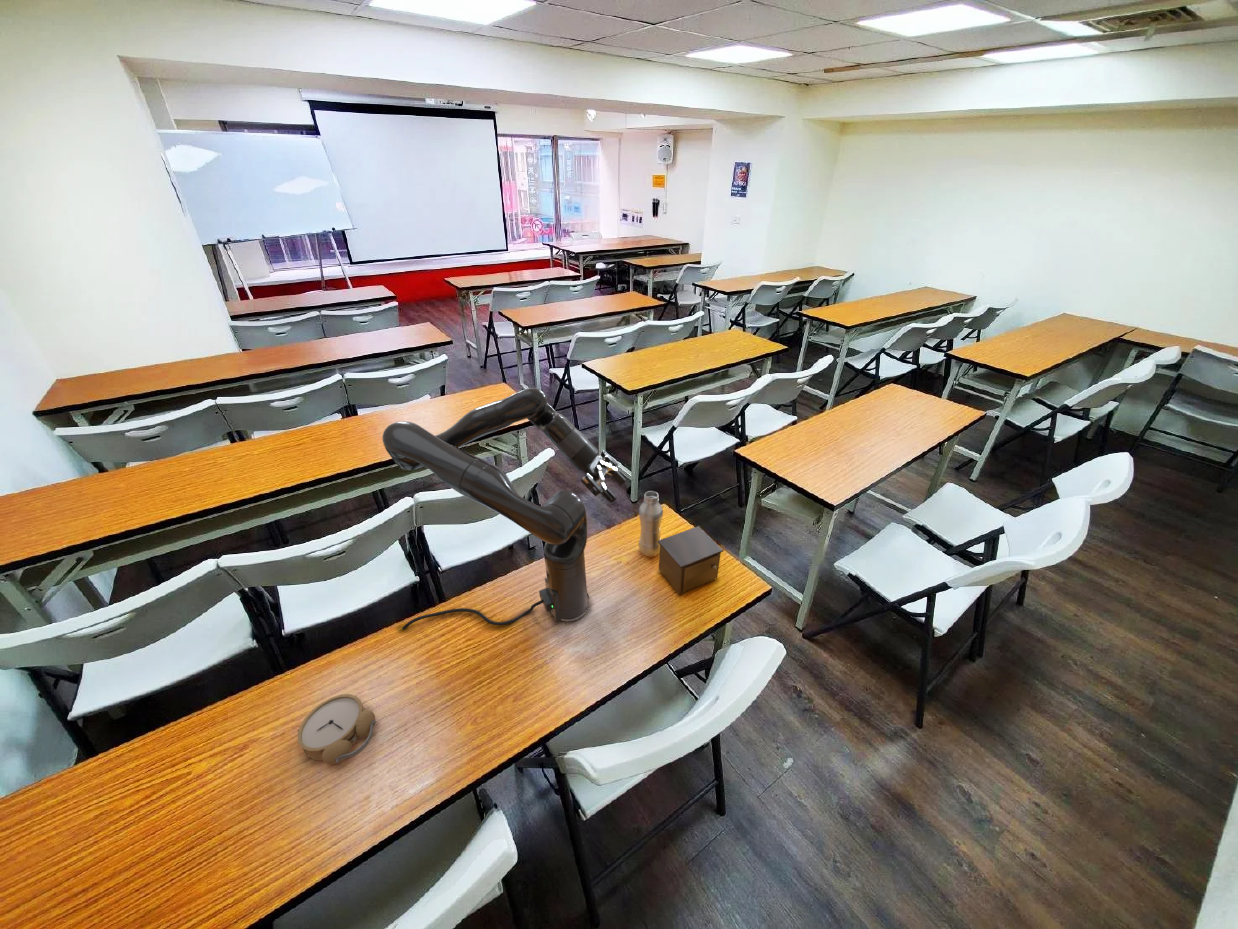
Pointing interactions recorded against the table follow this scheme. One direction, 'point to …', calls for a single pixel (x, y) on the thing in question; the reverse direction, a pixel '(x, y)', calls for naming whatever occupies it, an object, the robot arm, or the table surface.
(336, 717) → the alarm clock
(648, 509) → the silver metal bottle
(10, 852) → the table surface
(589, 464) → the robot arm
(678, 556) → the cabinet
